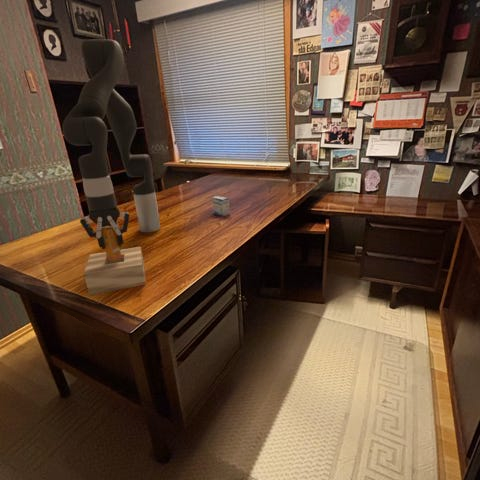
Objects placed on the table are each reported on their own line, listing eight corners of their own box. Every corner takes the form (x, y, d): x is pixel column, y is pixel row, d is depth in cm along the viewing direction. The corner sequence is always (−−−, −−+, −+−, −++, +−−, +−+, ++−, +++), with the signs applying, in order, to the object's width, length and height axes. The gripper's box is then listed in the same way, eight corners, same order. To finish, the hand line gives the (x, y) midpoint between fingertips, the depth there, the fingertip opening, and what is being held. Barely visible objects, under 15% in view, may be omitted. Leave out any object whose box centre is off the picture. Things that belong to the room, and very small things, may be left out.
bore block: (94, 273, 101) (89, 254, 98) (144, 264, 105) (140, 246, 102) (89, 295, 88) (83, 274, 85) (145, 284, 93) (141, 264, 90)
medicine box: (213, 213, 156) (211, 197, 152) (219, 211, 159) (218, 195, 155) (223, 216, 151) (222, 199, 147) (229, 214, 154) (228, 197, 150)
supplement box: (122, 256, 94) (116, 226, 90) (114, 260, 92) (107, 230, 88) (115, 254, 96) (108, 225, 92) (106, 259, 93) (99, 229, 89)
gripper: (126, 186, 91) (136, 238, 98) (74, 192, 87) (88, 245, 94) (125, 192, 84) (136, 247, 91) (69, 198, 80) (85, 255, 87)
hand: (112, 246), depth 92 cm, fingers closed on supplement box, 4 cm apart
